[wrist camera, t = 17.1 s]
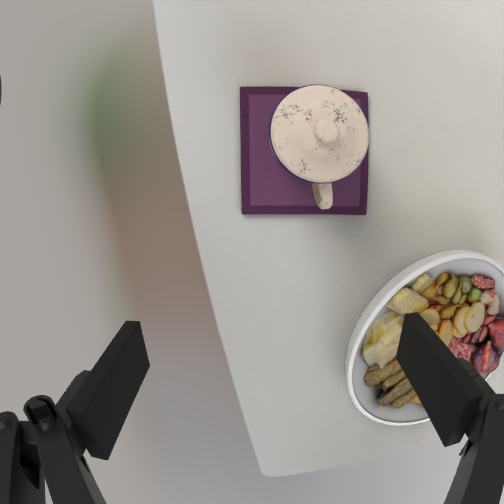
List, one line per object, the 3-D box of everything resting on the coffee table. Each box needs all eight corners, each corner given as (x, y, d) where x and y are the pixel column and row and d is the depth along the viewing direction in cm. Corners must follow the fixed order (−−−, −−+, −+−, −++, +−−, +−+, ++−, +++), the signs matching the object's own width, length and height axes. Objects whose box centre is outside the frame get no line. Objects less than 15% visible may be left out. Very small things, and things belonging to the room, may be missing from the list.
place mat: (242, 213, 38) (241, 214, 37) (240, 87, 34) (239, 86, 33) (364, 214, 38) (366, 215, 37) (366, 93, 33) (367, 92, 33)
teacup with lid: (260, 105, 34) (261, 83, 22) (338, 96, 33) (370, 74, 22) (277, 206, 37) (285, 230, 26) (353, 195, 36) (390, 214, 25)
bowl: (342, 423, 48) (350, 456, 41) (332, 263, 40) (347, 288, 32) (484, 378, 46) (502, 402, 39) (507, 228, 37) (540, 242, 30)
